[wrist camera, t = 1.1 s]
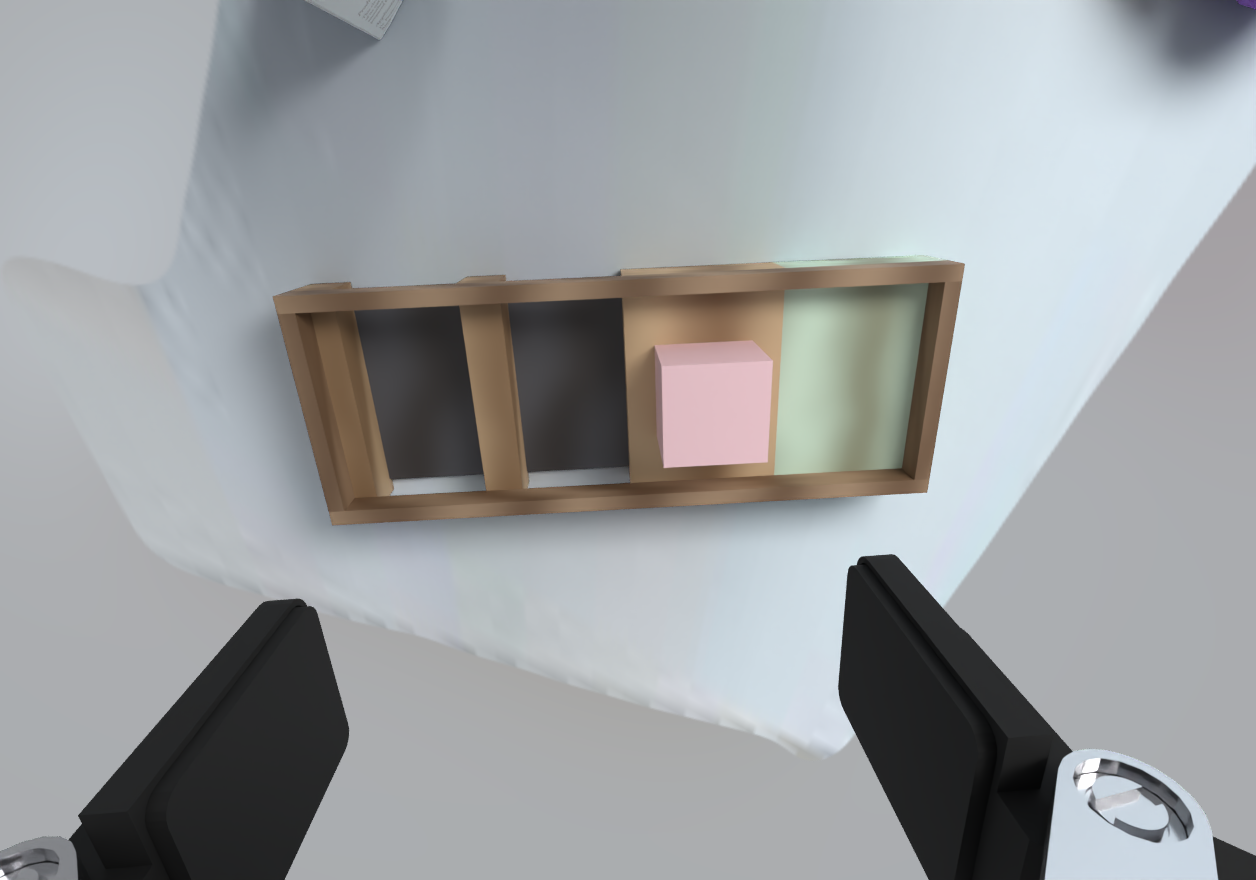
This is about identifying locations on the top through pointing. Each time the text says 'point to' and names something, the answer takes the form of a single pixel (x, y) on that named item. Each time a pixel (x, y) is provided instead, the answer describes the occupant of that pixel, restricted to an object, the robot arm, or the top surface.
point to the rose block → (712, 403)
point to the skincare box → (362, 13)
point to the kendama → (1248, 3)
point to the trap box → (617, 383)
